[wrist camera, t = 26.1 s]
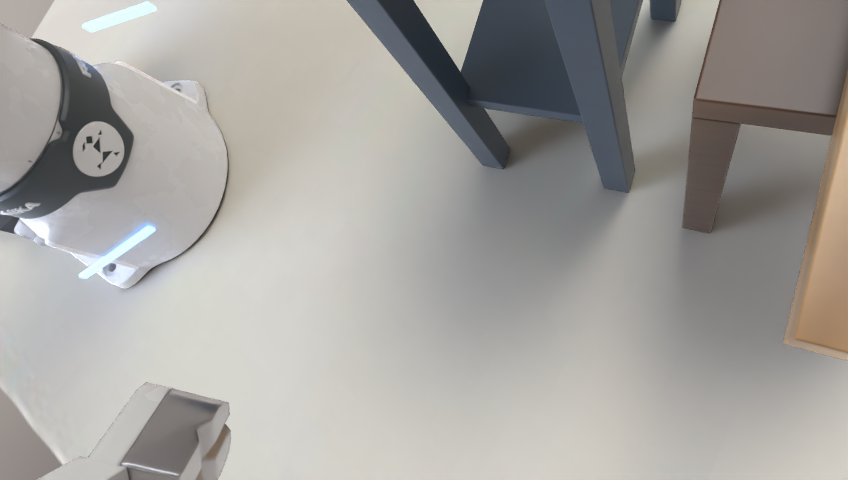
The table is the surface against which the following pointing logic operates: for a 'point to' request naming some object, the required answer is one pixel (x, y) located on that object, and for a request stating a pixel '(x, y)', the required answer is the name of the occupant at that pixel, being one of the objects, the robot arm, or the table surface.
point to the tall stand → (526, 69)
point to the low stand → (762, 85)
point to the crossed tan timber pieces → (826, 257)
